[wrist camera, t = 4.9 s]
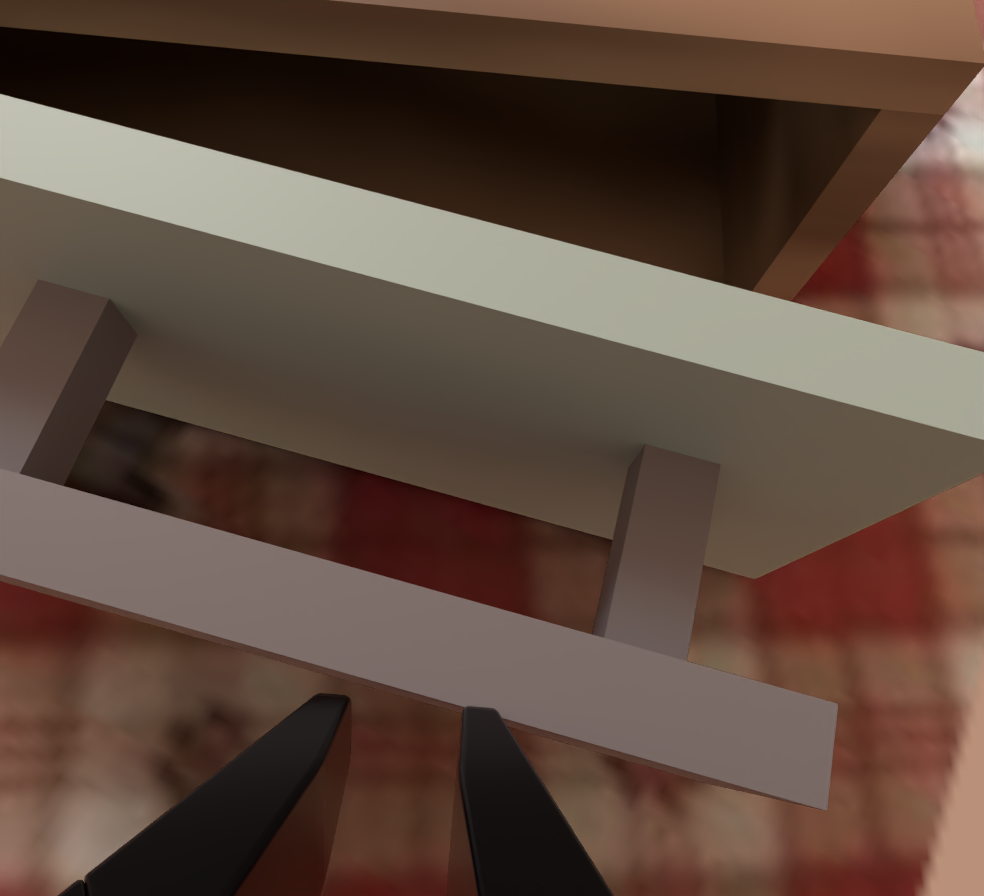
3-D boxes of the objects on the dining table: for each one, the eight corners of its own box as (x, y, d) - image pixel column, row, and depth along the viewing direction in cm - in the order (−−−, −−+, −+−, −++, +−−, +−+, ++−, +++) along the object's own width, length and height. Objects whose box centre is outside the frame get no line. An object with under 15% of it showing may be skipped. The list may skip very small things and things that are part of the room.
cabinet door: (723, 790, 16) (1018, 862, 8) (-314, 493, 16) (-1043, 273, 8) (762, 529, 18) (1031, 364, 10) (-168, 274, 18) (-646, -76, 10)
